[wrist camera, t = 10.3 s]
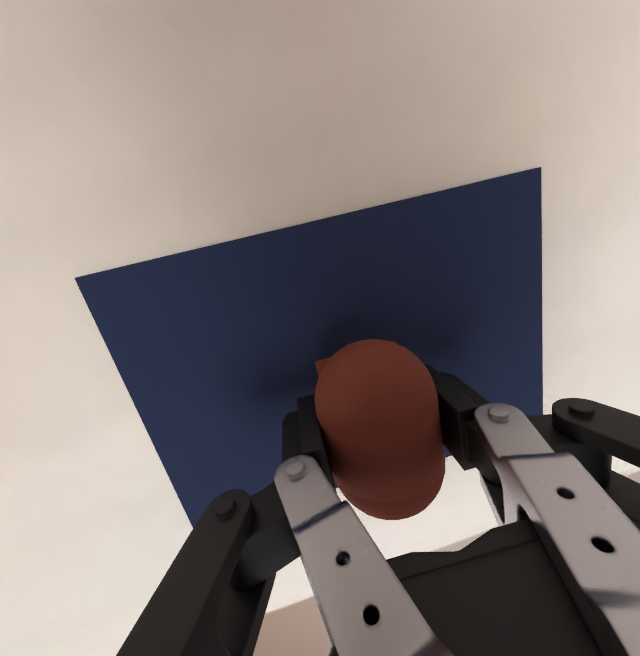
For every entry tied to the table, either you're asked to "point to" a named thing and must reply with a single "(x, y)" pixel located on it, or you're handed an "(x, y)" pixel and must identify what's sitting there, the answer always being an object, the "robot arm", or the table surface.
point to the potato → (381, 428)
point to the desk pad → (322, 321)
